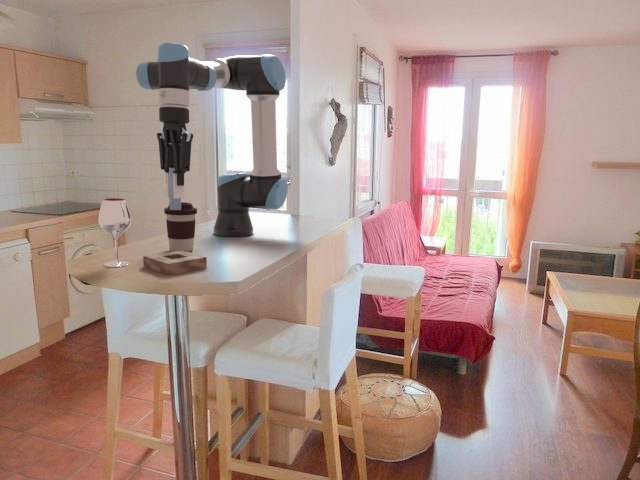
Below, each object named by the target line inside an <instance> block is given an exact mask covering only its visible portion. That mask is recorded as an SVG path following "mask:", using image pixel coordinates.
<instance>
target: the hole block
mask: <svg viewBox="0 0 640 480" xmlns="http://www.w3.org/2000/svg"><path fill="white" fill-rule="evenodd" d="M142 256H143V257H142V259H143V267H144V268H146V269H149V270H153V271H155V272H158V273H160V274H164V275H166V276H172V275H176V274H181V273H186V272H192V271H197V270H203V269H207V267H208V266H207V264H208V263H207V261H208V260H207V256H204V255H200V254H197V253H193V252H191V251H187V252H186V251H183V250H179V251H167V252H161V253H154V254H147V255H142ZM202 268H203V269H202Z"/></svg>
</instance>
